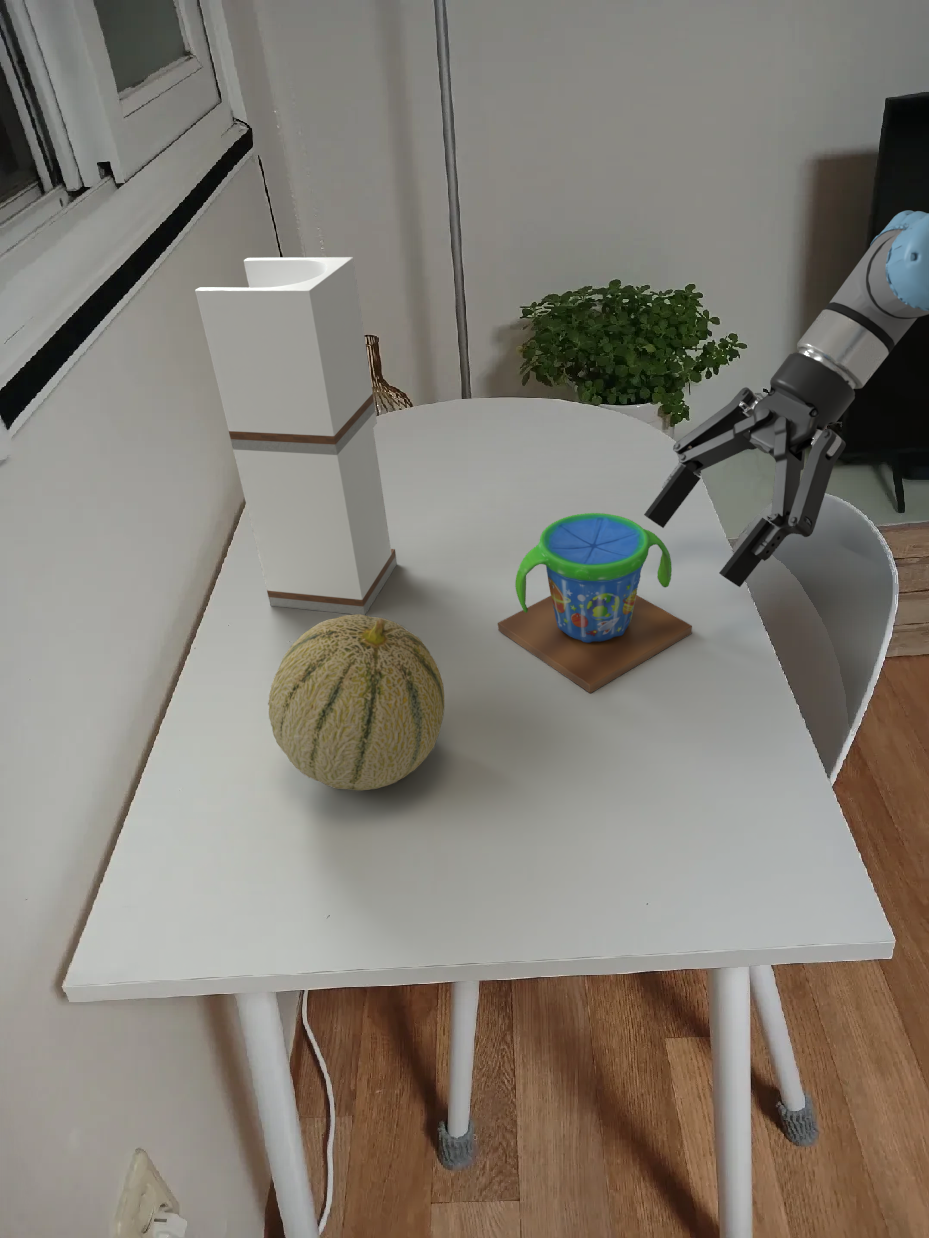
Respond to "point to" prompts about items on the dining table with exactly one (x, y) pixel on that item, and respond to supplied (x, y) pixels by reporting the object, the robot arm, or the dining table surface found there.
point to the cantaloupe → (357, 702)
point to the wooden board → (599, 658)
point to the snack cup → (593, 572)
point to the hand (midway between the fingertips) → (689, 549)
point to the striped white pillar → (303, 429)
